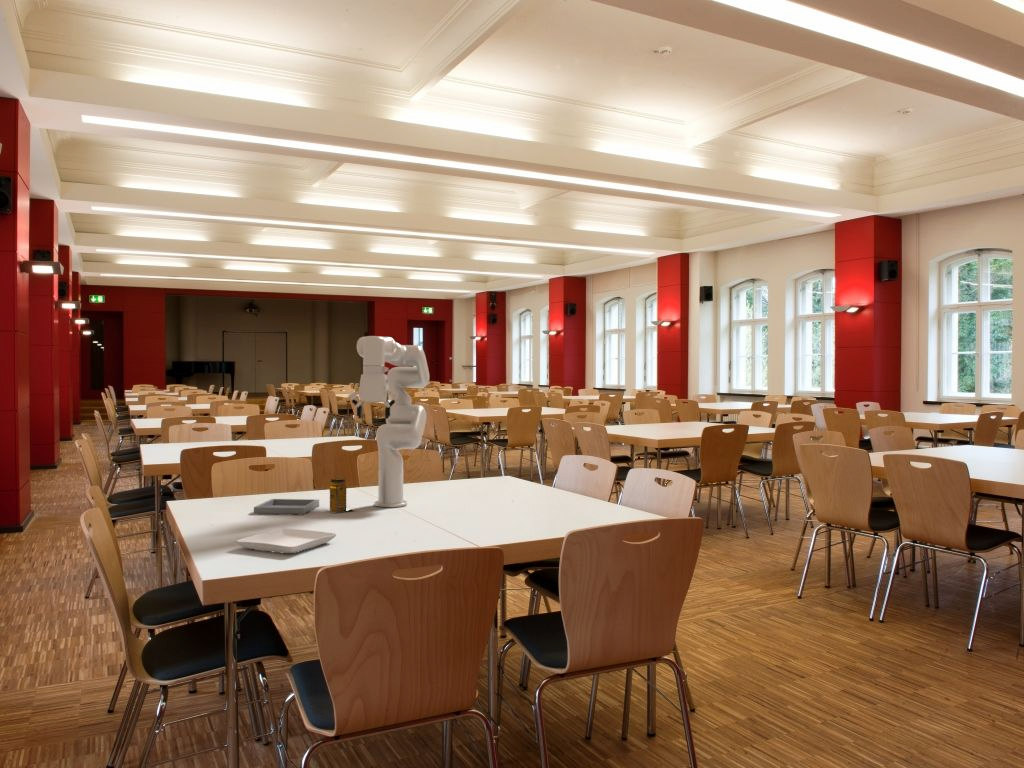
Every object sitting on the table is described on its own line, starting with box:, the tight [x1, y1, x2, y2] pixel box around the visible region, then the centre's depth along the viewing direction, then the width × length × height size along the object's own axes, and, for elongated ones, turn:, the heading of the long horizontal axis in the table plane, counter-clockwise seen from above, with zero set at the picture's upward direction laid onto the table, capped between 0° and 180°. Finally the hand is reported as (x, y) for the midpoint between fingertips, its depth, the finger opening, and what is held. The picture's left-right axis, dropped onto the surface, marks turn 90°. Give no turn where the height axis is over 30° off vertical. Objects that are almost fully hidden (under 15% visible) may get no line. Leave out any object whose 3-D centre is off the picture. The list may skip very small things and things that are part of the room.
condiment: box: [325, 477, 355, 514], centre depth 286 cm, size 7×8×12 cm
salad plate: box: [235, 527, 337, 554], centre depth 228 cm, size 21×21×3 cm
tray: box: [253, 498, 320, 516], centre depth 287 cm, size 18×18×2 cm
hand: (373, 418), depth 276 cm, fingers open, 9 cm apart
